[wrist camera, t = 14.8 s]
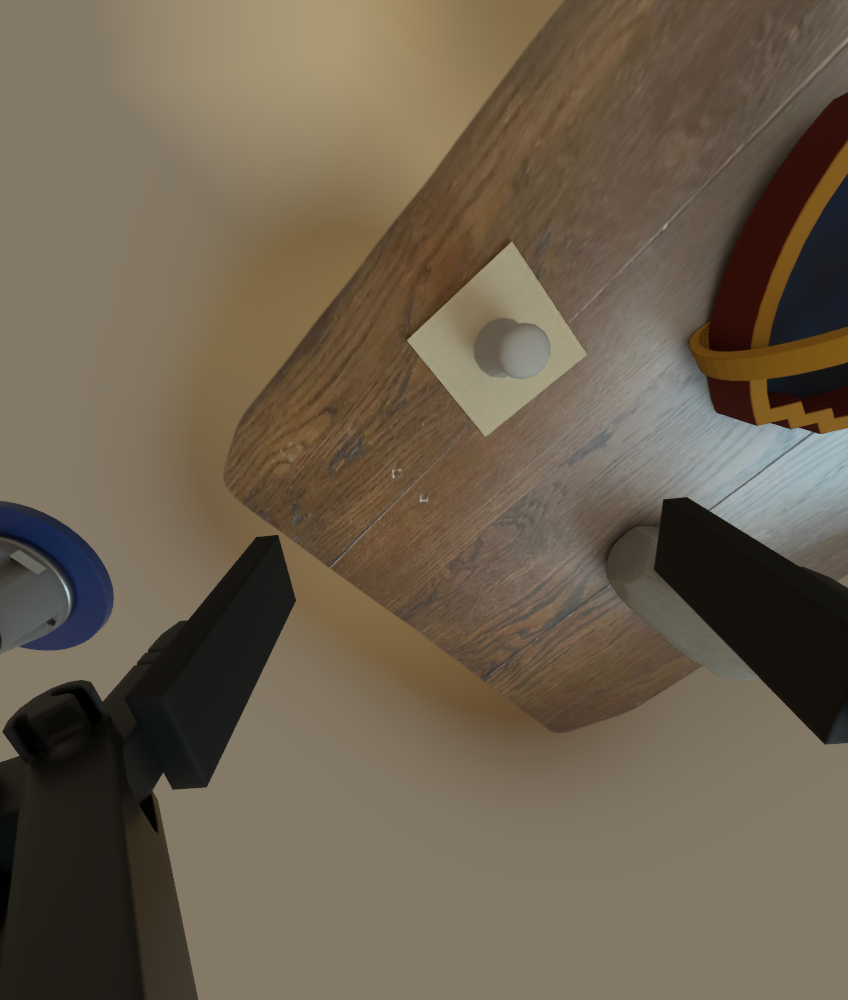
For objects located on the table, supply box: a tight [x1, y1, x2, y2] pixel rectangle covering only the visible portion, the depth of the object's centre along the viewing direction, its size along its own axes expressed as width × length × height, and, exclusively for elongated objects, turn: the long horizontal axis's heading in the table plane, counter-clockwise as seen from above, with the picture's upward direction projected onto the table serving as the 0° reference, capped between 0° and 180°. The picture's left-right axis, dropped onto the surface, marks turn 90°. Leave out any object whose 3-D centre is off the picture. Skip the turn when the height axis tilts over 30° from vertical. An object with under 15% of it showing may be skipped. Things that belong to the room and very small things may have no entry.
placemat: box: [407, 242, 587, 437], centre depth 44 cm, size 14×14×1 cm
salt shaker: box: [474, 318, 550, 379], centre depth 37 cm, size 6×6×13 cm
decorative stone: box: [606, 526, 760, 680], centre depth 47 cm, size 12×17×15 cm
